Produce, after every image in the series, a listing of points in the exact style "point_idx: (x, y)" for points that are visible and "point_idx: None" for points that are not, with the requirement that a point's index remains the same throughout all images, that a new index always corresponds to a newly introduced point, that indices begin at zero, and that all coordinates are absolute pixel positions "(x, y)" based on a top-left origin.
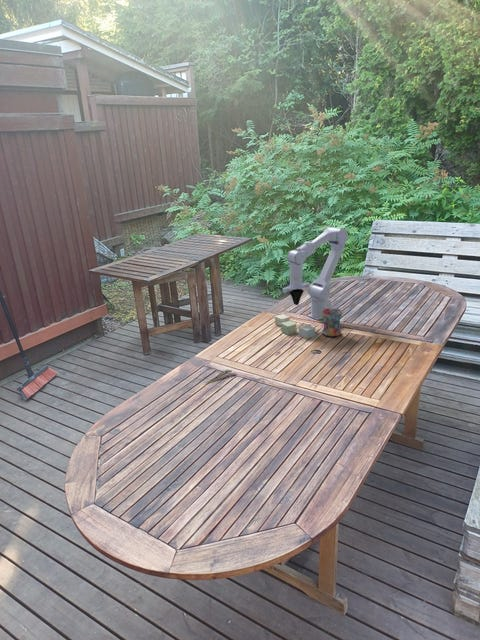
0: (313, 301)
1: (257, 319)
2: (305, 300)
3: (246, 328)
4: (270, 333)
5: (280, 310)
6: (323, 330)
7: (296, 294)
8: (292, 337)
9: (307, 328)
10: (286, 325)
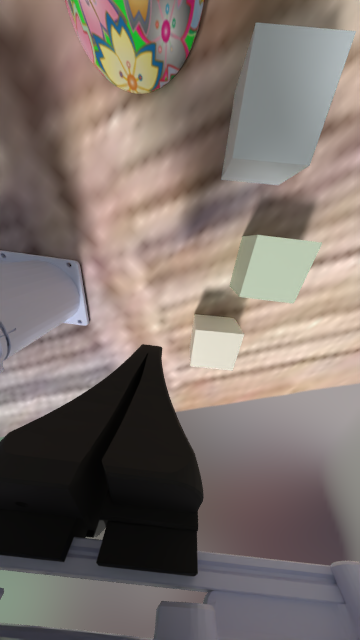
0: (8, 328)
1: (227, 400)
2: (25, 401)
3: (308, 382)
4: (316, 304)
5: None
6: (188, 7)
7: (170, 438)
8: (319, 192)
9: (301, 81)
10: (310, 260)
